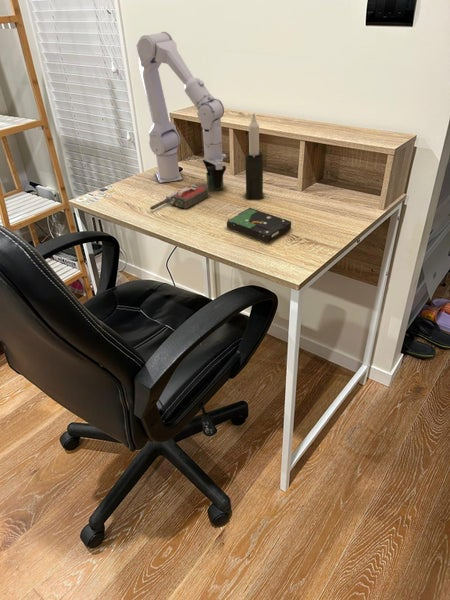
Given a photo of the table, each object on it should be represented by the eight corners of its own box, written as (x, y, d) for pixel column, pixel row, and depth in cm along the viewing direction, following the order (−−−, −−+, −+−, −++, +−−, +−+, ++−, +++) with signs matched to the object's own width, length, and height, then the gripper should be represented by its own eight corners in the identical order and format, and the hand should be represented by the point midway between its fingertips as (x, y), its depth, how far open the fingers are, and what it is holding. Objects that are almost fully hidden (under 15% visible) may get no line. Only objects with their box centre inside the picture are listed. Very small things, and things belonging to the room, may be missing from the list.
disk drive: (291, 230, 124) (249, 215, 132) (292, 221, 122) (249, 206, 130) (268, 245, 117) (225, 228, 126) (268, 235, 116) (225, 219, 124)
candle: (262, 192, 145) (263, 110, 130) (262, 199, 141) (262, 115, 126) (247, 193, 145) (245, 111, 131) (246, 199, 141) (244, 115, 127)
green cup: (205, 186, 152) (204, 171, 149) (221, 184, 152) (220, 169, 150) (209, 192, 147) (208, 177, 144) (225, 189, 148) (224, 175, 145)
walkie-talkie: (191, 190, 149) (148, 212, 137) (190, 177, 147) (146, 198, 134) (212, 195, 145) (169, 218, 132) (211, 182, 142) (167, 204, 130)
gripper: (231, 147, 136) (232, 190, 144) (219, 134, 148) (221, 174, 155) (208, 150, 135) (211, 193, 143) (198, 137, 146) (201, 177, 154)
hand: (215, 184), depth 149 cm, fingers closed on green cup, 5 cm apart
